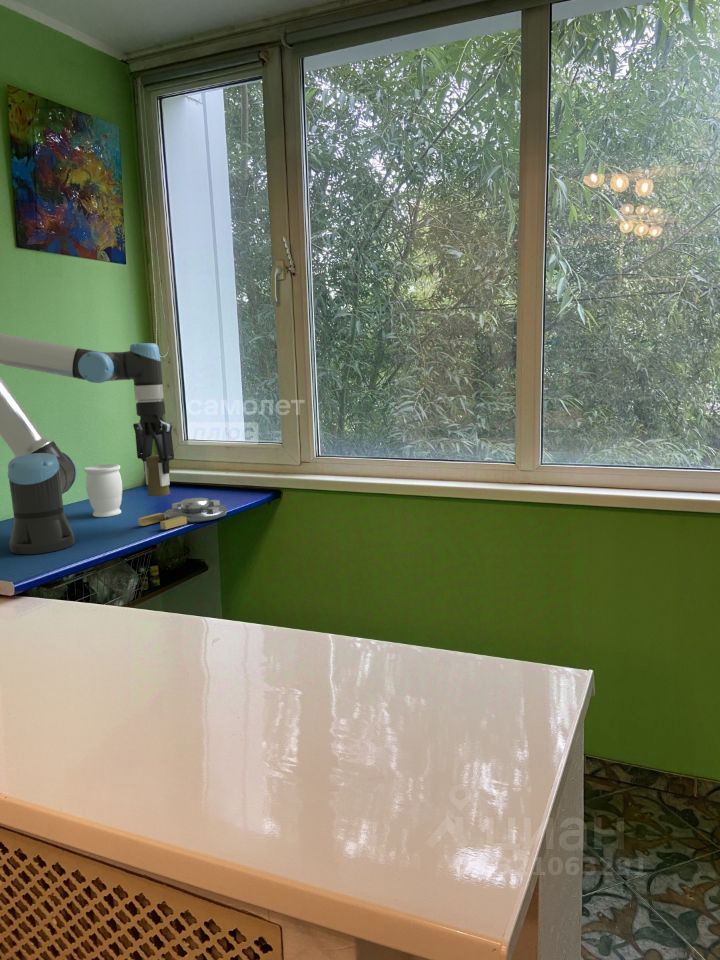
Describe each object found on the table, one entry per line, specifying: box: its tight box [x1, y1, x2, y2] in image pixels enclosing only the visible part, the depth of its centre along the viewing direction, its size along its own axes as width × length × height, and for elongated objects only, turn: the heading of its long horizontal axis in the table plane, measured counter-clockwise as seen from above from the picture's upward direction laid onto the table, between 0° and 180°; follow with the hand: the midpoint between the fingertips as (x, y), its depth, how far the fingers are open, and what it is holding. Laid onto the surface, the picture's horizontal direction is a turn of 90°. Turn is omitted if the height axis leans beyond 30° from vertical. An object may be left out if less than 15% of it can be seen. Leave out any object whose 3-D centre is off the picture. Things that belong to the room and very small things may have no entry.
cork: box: [146, 454, 171, 498], centre depth 196 cm, size 6×6×11 cm
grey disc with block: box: [137, 497, 227, 530], centre depth 205 cm, size 25×18×4 cm
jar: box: [83, 463, 123, 518], centre depth 216 cm, size 11×10×15 cm
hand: (158, 484), depth 196 cm, fingers closed on cork, 5 cm apart
